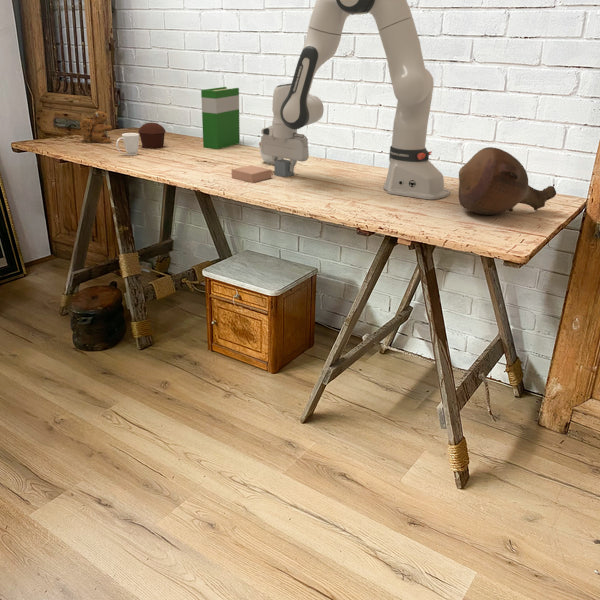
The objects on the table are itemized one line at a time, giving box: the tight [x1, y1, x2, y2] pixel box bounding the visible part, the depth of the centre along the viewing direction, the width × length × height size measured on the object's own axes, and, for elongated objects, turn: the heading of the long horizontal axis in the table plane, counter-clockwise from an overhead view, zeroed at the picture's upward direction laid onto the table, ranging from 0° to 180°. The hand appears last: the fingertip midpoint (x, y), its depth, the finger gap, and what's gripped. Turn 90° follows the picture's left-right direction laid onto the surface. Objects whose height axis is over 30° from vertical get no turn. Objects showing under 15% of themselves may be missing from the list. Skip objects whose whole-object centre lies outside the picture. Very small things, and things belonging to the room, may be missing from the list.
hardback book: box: [200, 86, 241, 150], centre depth 272 cm, size 18×7×24 cm, turn 152°
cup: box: [115, 132, 140, 156], centre depth 252 cm, size 7×10×8 cm
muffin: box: [137, 122, 167, 150], centre depth 268 cm, size 12×11×10 cm
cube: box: [274, 158, 295, 178], centre depth 227 cm, size 5×5×5 cm
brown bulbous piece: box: [458, 146, 557, 216], centre depth 185 cm, size 20×20×30 cm
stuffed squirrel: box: [79, 110, 113, 144], centre depth 275 cm, size 10×14×13 cm
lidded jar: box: [258, 141, 285, 165], centre depth 245 cm, size 11×11×9 cm
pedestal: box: [231, 165, 272, 184], centre depth 221 cm, size 10×10×3 cm
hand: (284, 170), depth 227 cm, fingers closed on cube, 5 cm apart
